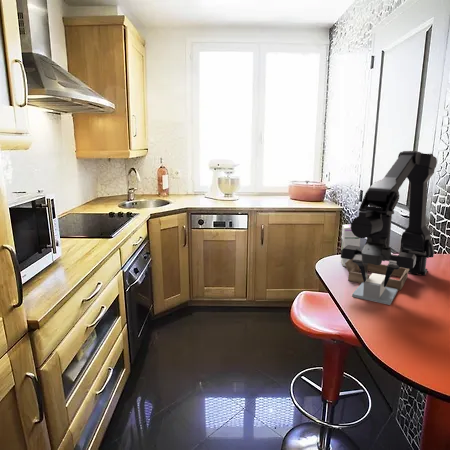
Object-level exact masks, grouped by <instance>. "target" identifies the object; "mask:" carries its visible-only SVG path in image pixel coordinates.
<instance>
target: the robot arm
mask: <svg viewBox="0 0 450 450" xmlns="http://www.w3.org/2000/svg"><path fill="white" fill-rule="evenodd" d="M437 163H438V159H437V157H436V156H434V154H433V153H423V152H420V151H417V150H403V151H400V152H399V154H398V156H397V159H396V161H395V162H394V163H393V165H392V166H391V168H389V170H388V171H387V172H386V174H385V176H384V177H383V178H382V179H380V180H378V181H375V182H374V183H373V184H372V185H370V186H369V188H368V189H367V190H366V191H365V195H364V196H363V199H362V201H361V203H360V206H359V208H358V216H356V217H354V218H353V220H352V221H351V223H350V224H351V231H352V233H353V234H354V235H355V236H356V237H358V238H360V239H366V241H365V244H364V246H363V249H361V246H360V247H359V246H353V245H347V246H346V247H344V248H343V249H342V250H341V249H340V259H341V258H344V259H352V258H353V260H352V261H353V262H354V263H356V264H357V265H358V266H359V268H360V271H359V272H360V273H361V274H362V277H363V280H364V282H365V281H366V280H367V275H368V272H369V271H368V263H369V264H374V265H381V264H383V262H385V261H386V262H388V264H386V265H387V270H386V274H384V275H385V280H384V287H386V285H387V283H388V281H389V279H391V277H392V275H391V274H392V272H393V271H394V269H396V270H398V269H399V268H400V267H401V268H407V269H409V271H408V274H414V275H420V276H426V275H427V273H428V268H426V266H427V259H429V258H434V255H435V247H434V244H433V240H432V239H431V232H430V230H429V229H428V227H427V225H426V217H427V199H428V197H427V196H428V184H429V183H428V182H429V180H430V179H431V178H432V176H433V175H434V174H435V170H436V168H437ZM406 180H408V181H409V185H410V186H409V208H408V209H409V210H408V226H407V228H406V229H405V230H404V231H403V232H402V233H401V240H400V247H401V248H400V249H401V251H400V252H399V253H398V254H392V249H391V247H390V243H391V242H390V241H391V230H392V219H393V215H394V214H395V211H394V209H396V206H397V205H398V202H399V201H400V193H399V190H400V188H401V187H402V186H403V184H404V182H405V181H406Z"/></svg>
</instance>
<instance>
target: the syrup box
mask: <svg viewBox="0 0 450 450" xmlns="http://www.w3.org/2000/svg"><path fill="white" fill-rule="evenodd" d="M347 245H353V246H359V247H360V248H361V238H358V237H356V236H355V235H354V234H353V233H352V231H351V223H350V224H342V227H341V249H340V251H341V250H342V249H343V248H344V247H346V246H347ZM348 260H349V259H344V258H341V257H340V262H341V265H342V267H346V265H345V263H346V262H347V261H348Z"/></svg>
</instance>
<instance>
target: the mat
mask: <svg viewBox="0 0 450 450" xmlns="http://www.w3.org/2000/svg"><path fill="white" fill-rule="evenodd" d="M359 284H360V285H358V287H357V288H356V289H355V290H354V292H352V294H351V297H353V298H357V299H360V300H361V299H362V300H365V301H371V302H373V303H374V302H375V303H378V304H382V305H383V304H385V305H388V306H391V305H392V303H393V300H394V299H395V297H396V295H397V293H398V291H399V290H398V289H396V288H391V287H386V289H385V290H384V292H383V293H382V295H381V296H380V298H379V299H378V300H377V299H373V298H368V297H363V290H364V282H362V283H359Z"/></svg>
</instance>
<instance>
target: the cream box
mask: <svg viewBox="0 0 450 450" xmlns="http://www.w3.org/2000/svg"><path fill="white" fill-rule="evenodd" d="M369 275H370V277H369V278H368V279H367V280H366V281H365V282H364V290H363V297H368V298H373V299H377V300H378V299H379V298H380V296H381V295H382V293H383V292H384V290H385V289H386V287H384V280H385V275H386V274H382V273H376V272H372V273H371V274H369Z"/></svg>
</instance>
